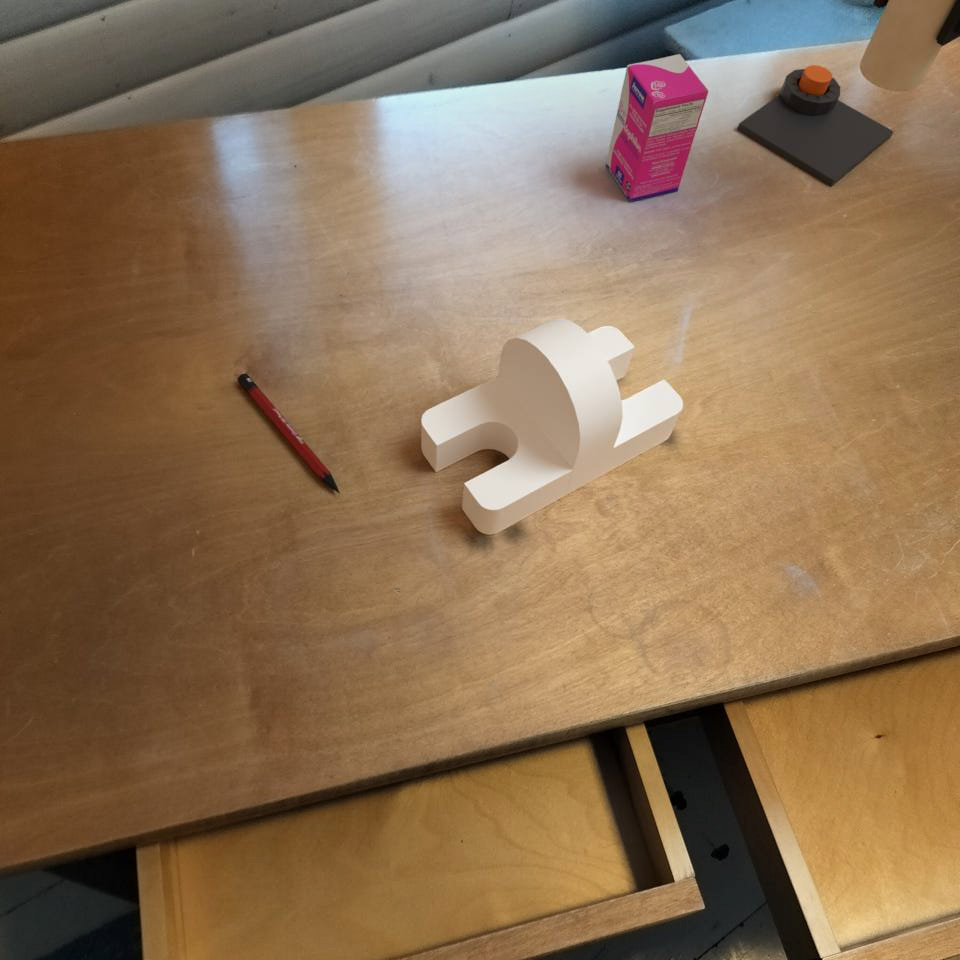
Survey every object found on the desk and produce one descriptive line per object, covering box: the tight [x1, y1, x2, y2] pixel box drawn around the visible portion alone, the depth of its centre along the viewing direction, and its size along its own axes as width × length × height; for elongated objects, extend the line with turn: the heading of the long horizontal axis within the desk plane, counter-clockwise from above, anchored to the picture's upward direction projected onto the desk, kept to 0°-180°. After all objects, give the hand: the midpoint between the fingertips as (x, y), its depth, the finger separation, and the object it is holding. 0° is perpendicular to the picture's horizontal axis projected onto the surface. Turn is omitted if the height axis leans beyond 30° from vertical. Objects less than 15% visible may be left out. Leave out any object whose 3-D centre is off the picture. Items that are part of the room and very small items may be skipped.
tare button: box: [799, 64, 833, 96], centre depth 92 cm, size 3×3×2 cm
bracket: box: [420, 317, 684, 536], centre depth 64 cm, size 19×10×11 cm, turn 123°
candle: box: [859, 0, 956, 93], centre depth 70 cm, size 6×6×10 cm
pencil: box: [237, 373, 341, 495], centre depth 67 cm, size 1×14×1 cm, turn 40°
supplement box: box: [605, 53, 709, 203], centre depth 81 cm, size 6×6×12 cm
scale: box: [736, 68, 894, 188], centre depth 91 cm, size 12×12×2 cm
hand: (918, 18), depth 70 cm, fingers closed on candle, 5 cm apart
